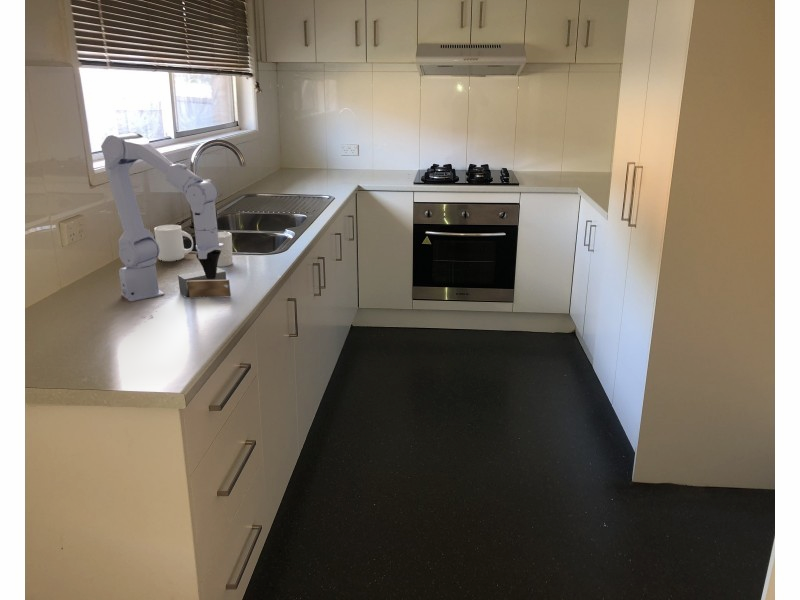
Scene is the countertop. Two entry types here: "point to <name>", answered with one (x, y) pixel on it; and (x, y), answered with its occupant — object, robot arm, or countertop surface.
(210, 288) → the door
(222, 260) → the white cup
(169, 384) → the countertop surface
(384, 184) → the countertop surface
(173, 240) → the mug
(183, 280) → the grey long block
